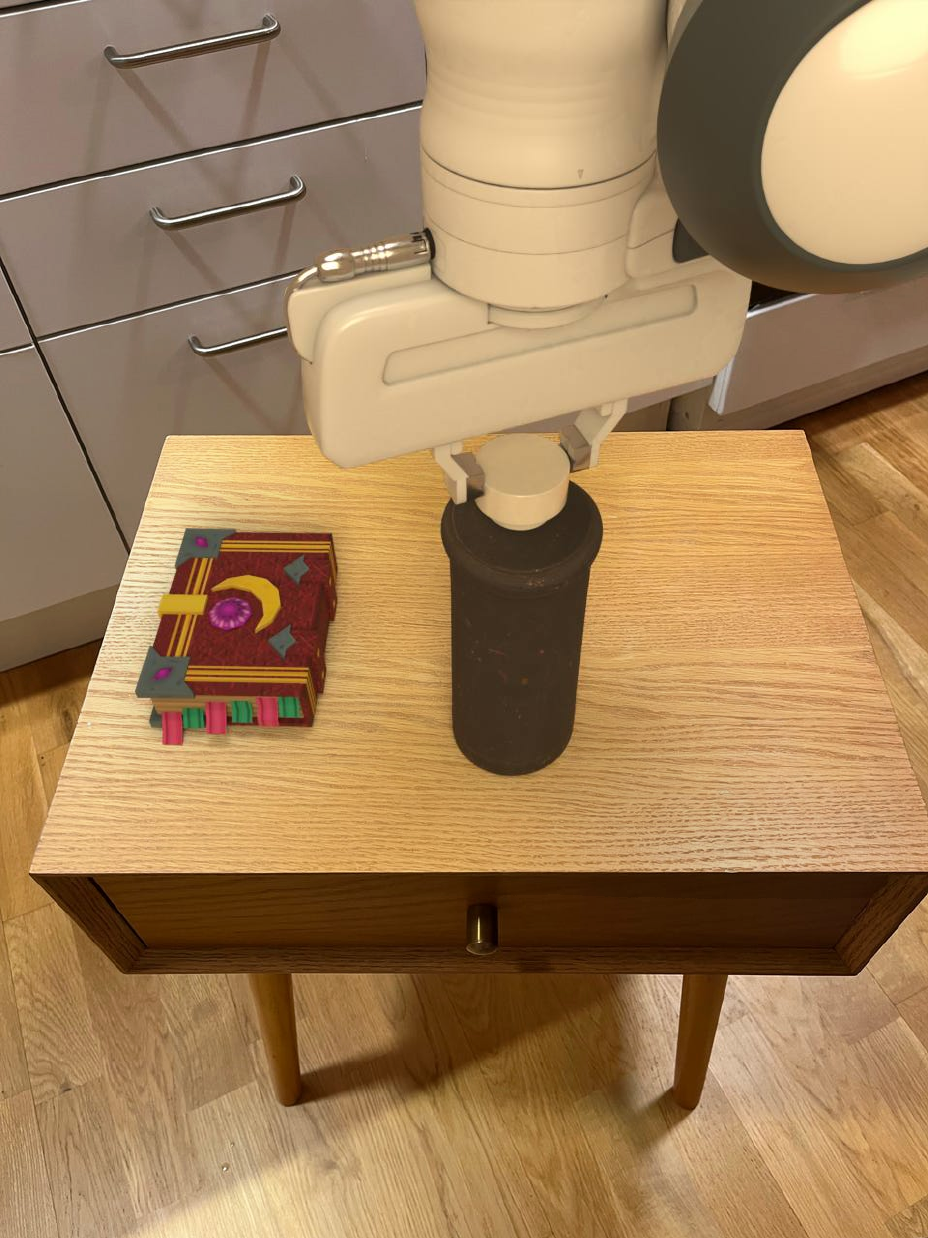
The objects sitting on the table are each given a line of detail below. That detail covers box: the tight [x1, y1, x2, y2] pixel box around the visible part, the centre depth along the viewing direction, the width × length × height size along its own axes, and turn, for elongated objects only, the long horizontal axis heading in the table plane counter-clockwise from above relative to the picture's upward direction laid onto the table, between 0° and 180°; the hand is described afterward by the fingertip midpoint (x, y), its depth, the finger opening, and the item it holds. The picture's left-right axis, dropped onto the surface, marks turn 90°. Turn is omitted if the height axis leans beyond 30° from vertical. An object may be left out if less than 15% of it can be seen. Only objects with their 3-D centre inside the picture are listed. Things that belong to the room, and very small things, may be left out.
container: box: [439, 479, 604, 777], centre depth 57 cm, size 9×9×20 cm
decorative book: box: [134, 527, 339, 746], centre depth 68 cm, size 11×16×5 cm
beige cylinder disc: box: [474, 432, 571, 530], centre depth 49 cm, size 5×5×3 cm
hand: (522, 477), depth 48 cm, fingers closed on beige cylinder disc, 5 cm apart
